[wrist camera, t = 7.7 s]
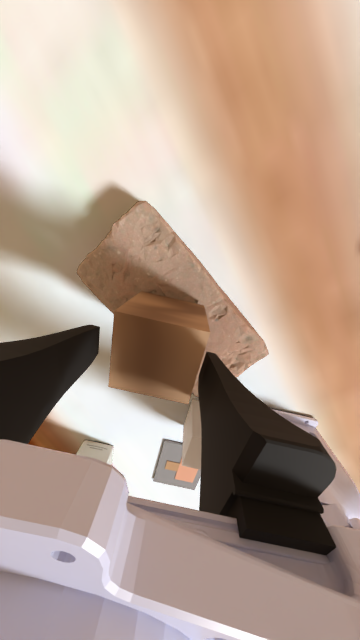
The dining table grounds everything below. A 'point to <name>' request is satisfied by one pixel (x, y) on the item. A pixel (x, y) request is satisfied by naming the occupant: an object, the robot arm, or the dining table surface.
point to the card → (175, 467)
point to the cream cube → (192, 437)
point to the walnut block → (158, 346)
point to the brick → (168, 282)
